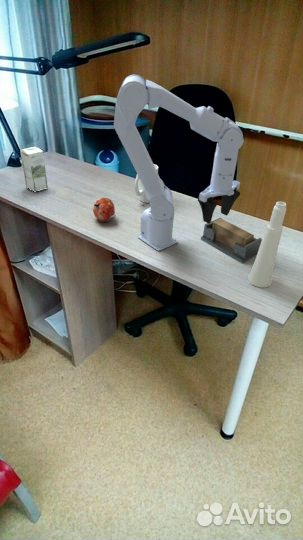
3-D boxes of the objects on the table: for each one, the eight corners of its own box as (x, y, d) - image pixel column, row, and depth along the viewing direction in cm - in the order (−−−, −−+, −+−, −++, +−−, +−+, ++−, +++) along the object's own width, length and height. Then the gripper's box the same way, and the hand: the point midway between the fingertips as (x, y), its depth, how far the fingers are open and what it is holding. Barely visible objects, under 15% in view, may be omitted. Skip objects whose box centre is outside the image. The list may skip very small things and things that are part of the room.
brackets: (200, 239, 107) (202, 224, 104) (218, 230, 111) (221, 216, 108) (241, 263, 98) (245, 248, 95) (259, 253, 102) (263, 238, 99)
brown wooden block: (210, 236, 106) (213, 222, 103) (218, 232, 108) (221, 218, 105) (242, 254, 99) (246, 239, 96) (250, 250, 101) (254, 235, 98)
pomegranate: (105, 218, 120) (82, 207, 113) (117, 200, 118) (95, 188, 111) (114, 230, 115) (90, 219, 108) (127, 212, 113) (104, 200, 106)
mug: (146, 193, 132) (147, 161, 124) (160, 199, 128) (162, 166, 121) (127, 201, 125) (127, 169, 118) (142, 208, 122) (142, 174, 115)
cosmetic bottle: (275, 279, 92) (299, 202, 79) (265, 291, 88) (289, 212, 75) (253, 270, 95) (273, 195, 82) (243, 281, 91) (263, 203, 78)
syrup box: (40, 184, 135) (33, 145, 126) (48, 189, 131) (43, 150, 123) (26, 188, 131) (19, 149, 122) (35, 193, 128) (28, 153, 119)
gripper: (216, 183, 86) (209, 231, 94) (252, 170, 94) (242, 216, 102) (195, 174, 90) (190, 221, 98) (231, 162, 98) (223, 207, 106)
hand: (215, 217), depth 101 cm, fingers open, 7 cm apart
